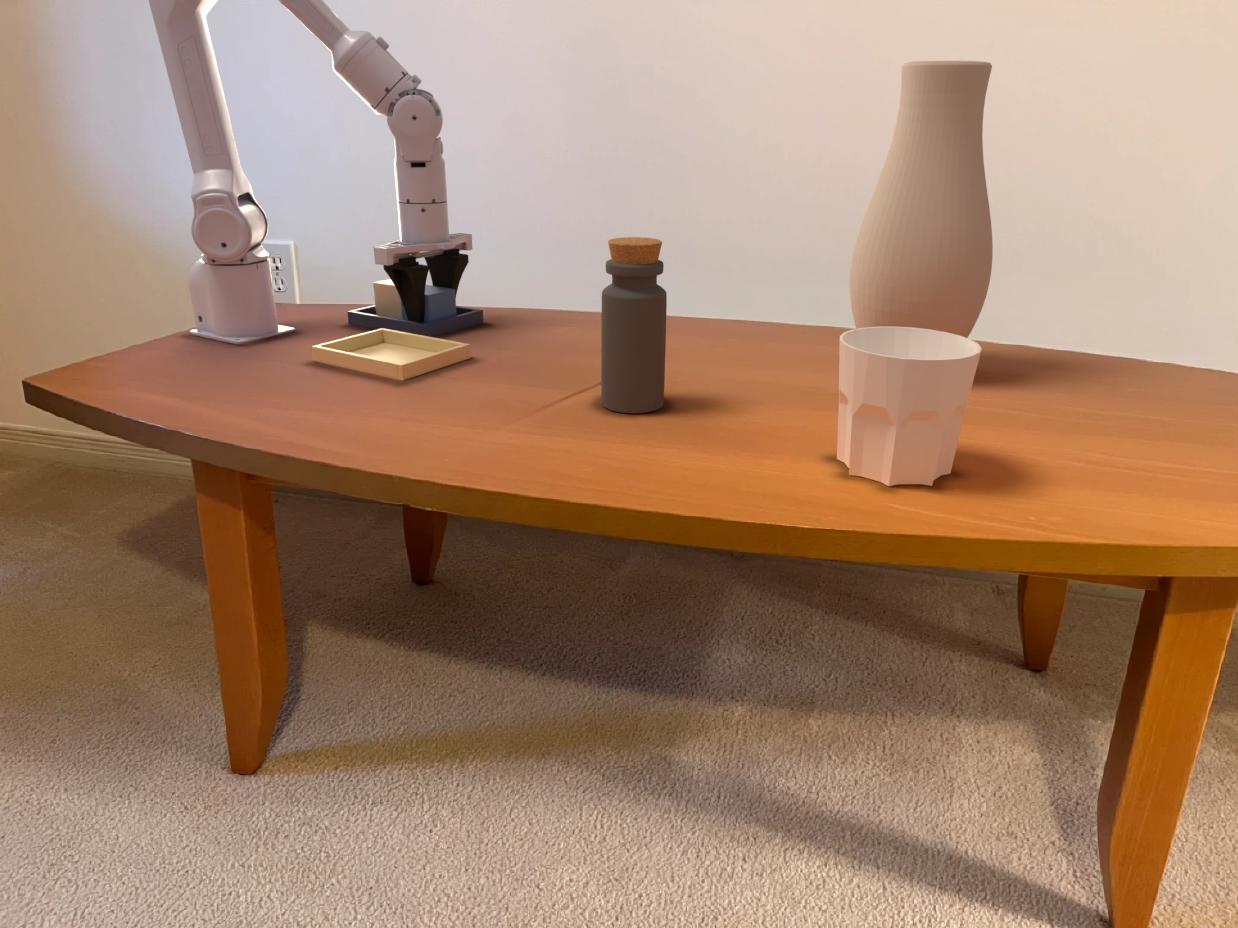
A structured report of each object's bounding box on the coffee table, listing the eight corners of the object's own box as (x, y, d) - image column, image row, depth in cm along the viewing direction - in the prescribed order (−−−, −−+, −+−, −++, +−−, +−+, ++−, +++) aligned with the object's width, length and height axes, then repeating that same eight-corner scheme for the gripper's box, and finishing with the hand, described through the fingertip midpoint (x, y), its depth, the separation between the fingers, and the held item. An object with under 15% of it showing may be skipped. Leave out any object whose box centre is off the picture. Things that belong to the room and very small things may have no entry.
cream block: (376, 318, 114) (372, 282, 112) (402, 312, 118) (399, 276, 116) (402, 323, 112) (399, 286, 110) (428, 316, 115) (425, 280, 114)
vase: (995, 387, 90) (1052, 59, 79) (859, 386, 90) (897, 58, 79) (946, 352, 103) (989, 66, 92) (827, 351, 103) (855, 64, 91)
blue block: (403, 328, 109) (400, 290, 108) (429, 321, 113) (427, 284, 111) (431, 333, 107) (428, 295, 105) (457, 326, 111) (455, 288, 109)
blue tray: (348, 326, 112) (347, 311, 111) (407, 311, 120) (406, 297, 119) (427, 341, 105) (426, 325, 104) (483, 324, 113) (483, 309, 112)
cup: (848, 492, 65) (863, 360, 61) (813, 444, 74) (824, 326, 71) (982, 491, 66) (1005, 359, 62) (931, 443, 75) (948, 326, 71)
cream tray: (313, 363, 96) (311, 346, 95) (383, 343, 104) (382, 327, 103) (403, 383, 89) (401, 365, 89) (471, 361, 97) (470, 343, 97)
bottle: (671, 398, 86) (676, 237, 80) (653, 417, 80) (657, 246, 75) (613, 392, 87) (614, 234, 82) (592, 409, 82) (591, 242, 77)
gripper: (402, 209, 97) (412, 333, 102) (489, 198, 108) (494, 310, 113) (356, 205, 100) (368, 325, 105) (445, 195, 111) (452, 303, 117)
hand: (430, 317), depth 109 cm, fingers closed on blue block, 4 cm apart
